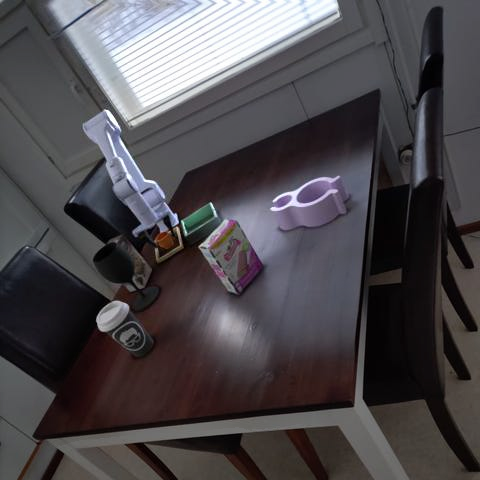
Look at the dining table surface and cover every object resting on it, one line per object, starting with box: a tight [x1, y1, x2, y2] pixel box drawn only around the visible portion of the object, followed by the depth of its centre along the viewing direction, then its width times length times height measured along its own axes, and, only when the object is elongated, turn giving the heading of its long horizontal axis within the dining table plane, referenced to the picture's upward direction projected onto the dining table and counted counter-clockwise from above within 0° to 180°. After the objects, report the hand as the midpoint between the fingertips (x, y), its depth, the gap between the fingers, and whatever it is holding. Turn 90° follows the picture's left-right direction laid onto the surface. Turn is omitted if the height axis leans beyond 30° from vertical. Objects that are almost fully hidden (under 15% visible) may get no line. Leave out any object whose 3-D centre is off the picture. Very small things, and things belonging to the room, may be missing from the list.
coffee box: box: [106, 234, 153, 293], centre depth 147 cm, size 9×6×16 cm
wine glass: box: [92, 242, 160, 312], centre depth 137 cm, size 10×10×20 cm
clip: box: [270, 175, 350, 231], centre depth 126 cm, size 20×12×7 cm, turn 74°
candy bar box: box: [197, 218, 265, 296], centre depth 118 cm, size 11×5×16 cm, turn 134°
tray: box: [154, 226, 184, 264], centre depth 159 cm, size 15×10×2 cm
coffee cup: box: [95, 300, 154, 358], centre depth 120 cm, size 10×10×15 cm
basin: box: [180, 202, 222, 246], centre depth 154 cm, size 13×13×4 cm
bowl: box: [155, 230, 174, 250], centre depth 157 cm, size 5×5×4 cm
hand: (165, 241), depth 158 cm, fingers open, 7 cm apart
